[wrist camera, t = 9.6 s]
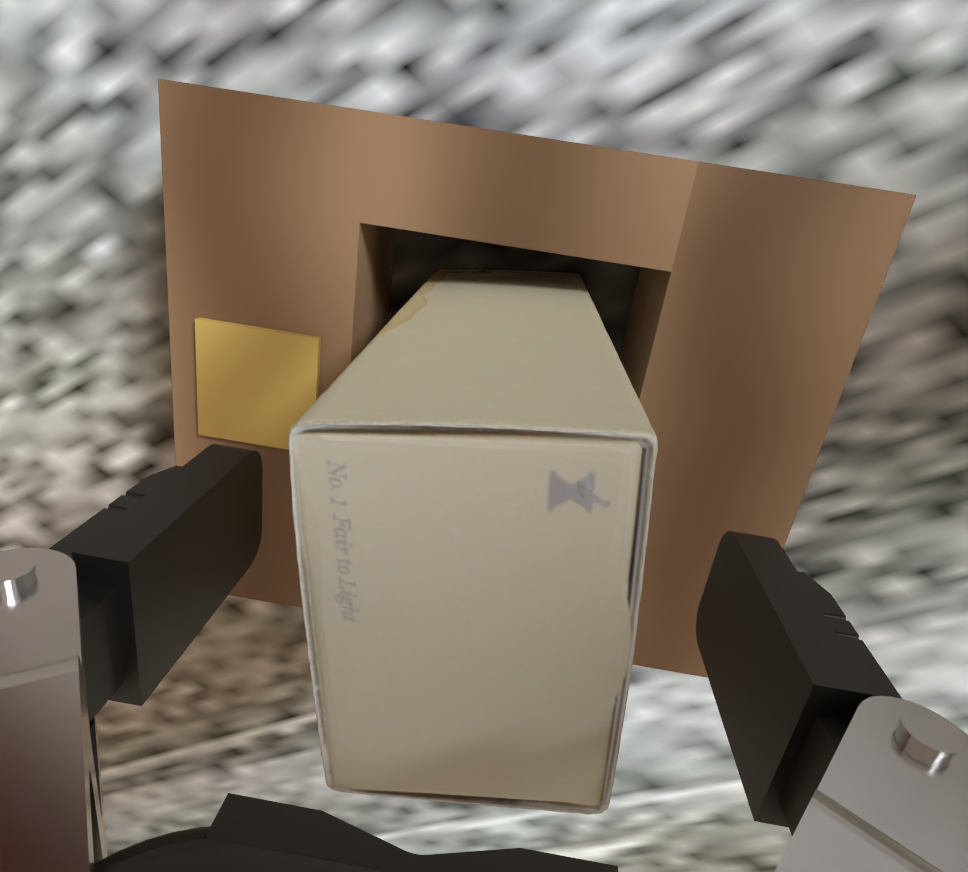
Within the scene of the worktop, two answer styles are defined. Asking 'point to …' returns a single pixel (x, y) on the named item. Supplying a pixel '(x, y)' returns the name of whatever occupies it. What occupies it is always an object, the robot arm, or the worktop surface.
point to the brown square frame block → (530, 225)
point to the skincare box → (475, 547)
